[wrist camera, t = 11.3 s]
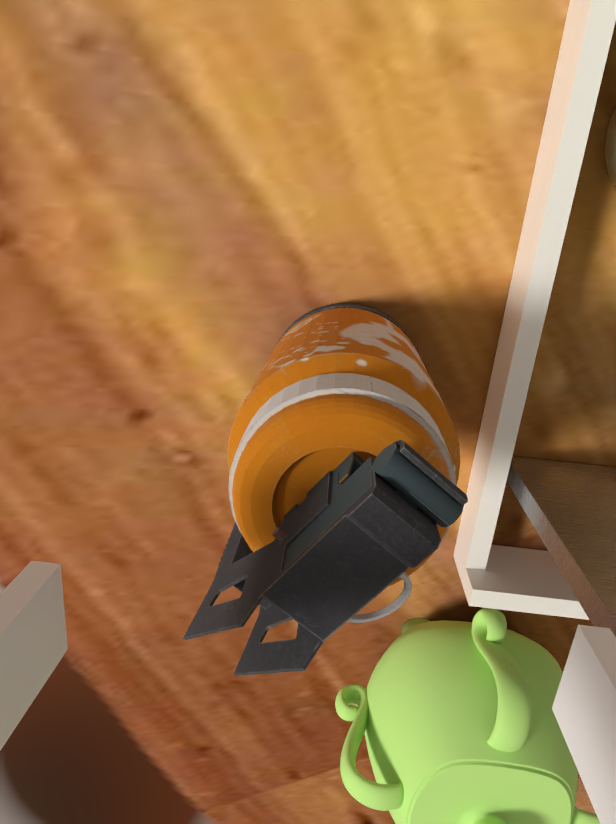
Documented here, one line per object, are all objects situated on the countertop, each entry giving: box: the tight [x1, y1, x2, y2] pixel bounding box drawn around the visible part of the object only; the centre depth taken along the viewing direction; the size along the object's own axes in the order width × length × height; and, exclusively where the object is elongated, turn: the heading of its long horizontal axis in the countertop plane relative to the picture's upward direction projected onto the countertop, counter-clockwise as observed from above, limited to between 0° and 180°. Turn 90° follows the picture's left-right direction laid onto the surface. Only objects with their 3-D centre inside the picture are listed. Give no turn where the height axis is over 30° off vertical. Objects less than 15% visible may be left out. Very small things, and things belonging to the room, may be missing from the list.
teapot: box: [335, 608, 600, 824], centre depth 34 cm, size 16×14×13 cm
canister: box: [183, 303, 468, 676], centre depth 23 cm, size 9×11×20 cm
